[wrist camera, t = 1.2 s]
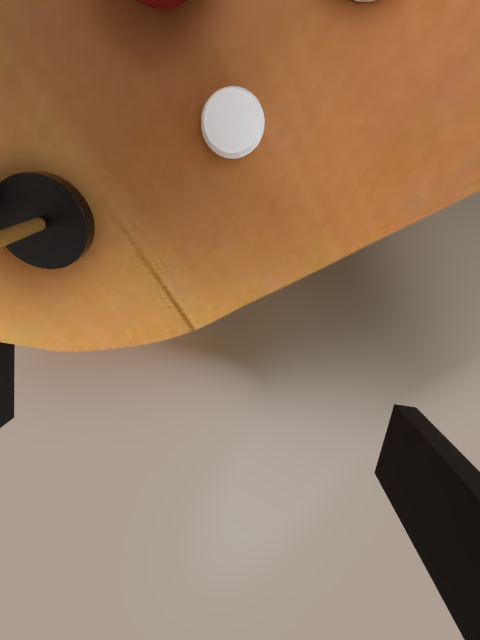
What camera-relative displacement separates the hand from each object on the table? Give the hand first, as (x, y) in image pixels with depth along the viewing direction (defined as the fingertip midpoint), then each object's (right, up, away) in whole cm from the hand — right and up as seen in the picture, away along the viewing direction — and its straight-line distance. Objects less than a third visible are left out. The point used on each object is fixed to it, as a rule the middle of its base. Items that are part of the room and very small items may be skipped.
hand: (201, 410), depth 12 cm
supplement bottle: (+1, +20, +19) cm, 28 cm away
